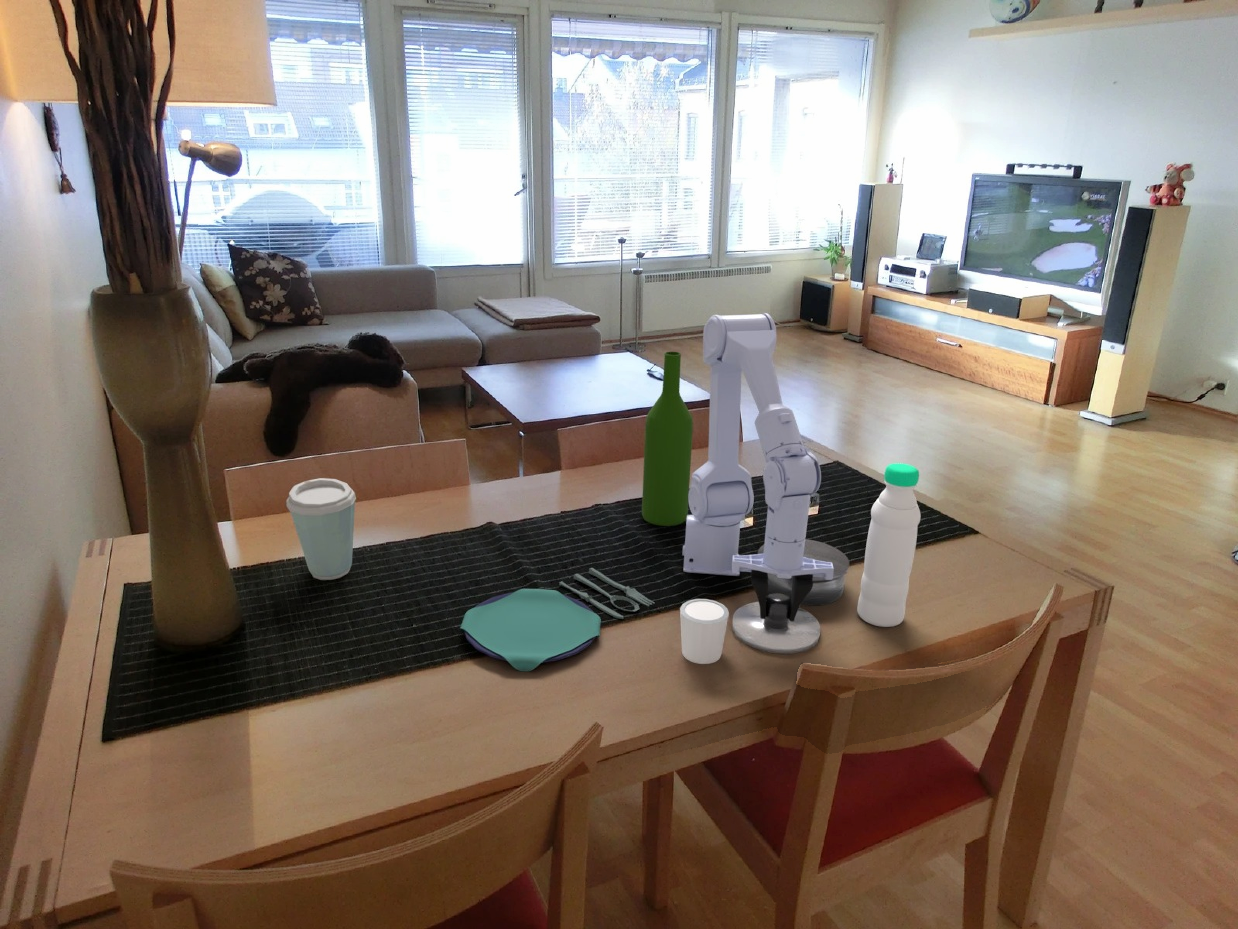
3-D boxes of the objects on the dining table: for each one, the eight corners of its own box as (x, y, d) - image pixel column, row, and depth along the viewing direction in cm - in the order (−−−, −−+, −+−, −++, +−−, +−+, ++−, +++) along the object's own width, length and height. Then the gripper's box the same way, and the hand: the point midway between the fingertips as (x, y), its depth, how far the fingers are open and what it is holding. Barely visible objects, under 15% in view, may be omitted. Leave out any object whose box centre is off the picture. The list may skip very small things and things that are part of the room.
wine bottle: (695, 514, 168) (705, 352, 157) (673, 530, 161) (682, 361, 150) (656, 504, 173) (663, 345, 161) (633, 518, 166) (639, 354, 154)
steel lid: (732, 649, 124) (735, 618, 122) (731, 604, 136) (733, 575, 134) (824, 657, 122) (828, 625, 120) (814, 611, 134) (818, 582, 133)
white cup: (712, 672, 118) (715, 628, 116) (668, 656, 121) (671, 613, 119) (733, 649, 124) (737, 606, 121) (691, 635, 127) (693, 593, 124)
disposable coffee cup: (375, 572, 142) (368, 488, 137) (315, 594, 135) (305, 507, 130) (341, 551, 149) (333, 471, 144) (282, 571, 142) (272, 488, 137)
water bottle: (878, 633, 129) (902, 478, 120) (846, 611, 135) (867, 462, 126) (913, 622, 132) (938, 471, 123) (880, 602, 138) (902, 456, 129)
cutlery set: (436, 630, 127) (436, 616, 126) (586, 570, 147) (586, 558, 146) (520, 691, 113) (520, 676, 113) (672, 616, 134) (673, 603, 133)
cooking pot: (757, 603, 136) (759, 575, 135) (753, 561, 150) (755, 535, 148) (851, 610, 135) (855, 582, 133) (839, 567, 149) (842, 541, 147)
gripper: (735, 542, 120) (728, 626, 125) (840, 550, 119) (829, 634, 124) (734, 522, 127) (727, 602, 132) (833, 529, 126) (823, 610, 130)
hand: (776, 616), depth 128 cm, fingers closed on steel lid, 4 cm apart
